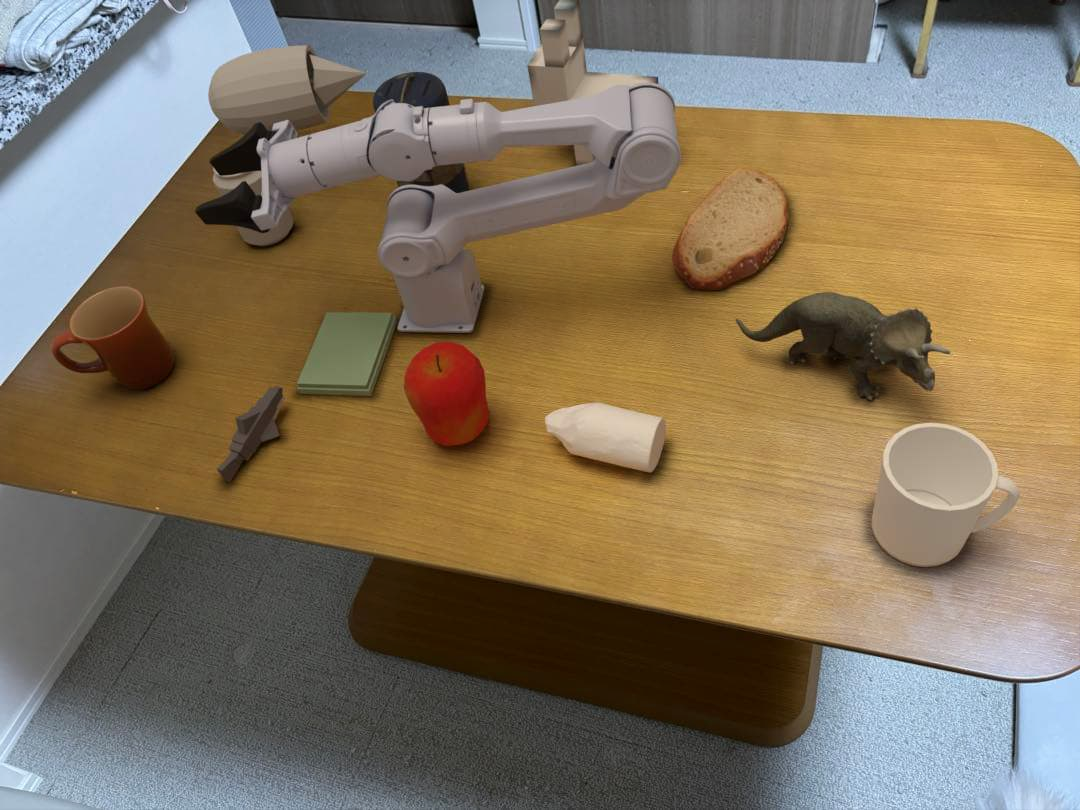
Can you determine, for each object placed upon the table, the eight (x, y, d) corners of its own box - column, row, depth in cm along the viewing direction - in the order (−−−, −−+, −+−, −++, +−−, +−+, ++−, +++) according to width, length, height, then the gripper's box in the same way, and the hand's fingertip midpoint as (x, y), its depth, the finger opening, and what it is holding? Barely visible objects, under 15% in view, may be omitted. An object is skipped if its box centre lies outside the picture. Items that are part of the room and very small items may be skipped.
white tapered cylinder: (560, 414, 97) (553, 381, 93) (667, 438, 93) (665, 404, 89) (540, 457, 94) (532, 425, 89) (649, 484, 90) (647, 451, 85)
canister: (392, 214, 124) (353, 98, 110) (422, 173, 129) (388, 57, 115) (453, 224, 120) (420, 106, 107) (482, 181, 126) (454, 63, 112)
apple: (427, 399, 101) (400, 327, 92) (500, 394, 100) (479, 320, 91) (418, 461, 96) (388, 391, 87) (495, 457, 94) (473, 385, 85)
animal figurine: (247, 492, 98) (223, 472, 94) (217, 480, 100) (192, 460, 95) (304, 401, 102) (283, 378, 98) (274, 391, 104) (252, 368, 100)
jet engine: (340, 203, 127) (297, 93, 114) (231, 182, 134) (178, 76, 121) (392, 142, 135) (357, 32, 122) (286, 125, 142) (243, 20, 129)
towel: (397, 321, 110) (394, 311, 109) (371, 396, 103) (367, 386, 101) (329, 320, 112) (325, 310, 110) (299, 394, 104) (294, 384, 103)
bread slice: (760, 172, 118) (762, 148, 115) (831, 253, 107) (834, 228, 104) (634, 213, 116) (632, 190, 114) (692, 300, 105) (692, 277, 102)
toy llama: (663, 176, 121) (657, 36, 105) (543, 162, 126) (521, 28, 111) (678, 143, 125) (674, 3, 109) (561, 131, 130) (542, -2, 115)
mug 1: (175, 335, 114) (136, 275, 106) (190, 377, 109) (150, 318, 101) (84, 375, 112) (37, 317, 104) (94, 421, 106) (45, 363, 99)
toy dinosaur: (728, 349, 99) (730, 274, 91) (769, 304, 103) (775, 228, 94) (917, 440, 88) (940, 364, 80) (956, 385, 92) (983, 308, 83)
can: (284, 250, 122) (249, 178, 113) (235, 249, 124) (197, 178, 115) (303, 215, 127) (272, 143, 117) (256, 214, 128) (221, 143, 119)
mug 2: (859, 558, 81) (875, 496, 73) (873, 480, 86) (890, 413, 78) (990, 590, 78) (1023, 528, 70) (998, 506, 83) (1029, 439, 75)
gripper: (310, 86, 94) (199, 118, 98) (290, 181, 86) (170, 212, 90) (342, 137, 100) (236, 166, 103) (326, 231, 92) (211, 259, 95)
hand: (208, 191), depth 97 cm, fingers open, 7 cm apart
